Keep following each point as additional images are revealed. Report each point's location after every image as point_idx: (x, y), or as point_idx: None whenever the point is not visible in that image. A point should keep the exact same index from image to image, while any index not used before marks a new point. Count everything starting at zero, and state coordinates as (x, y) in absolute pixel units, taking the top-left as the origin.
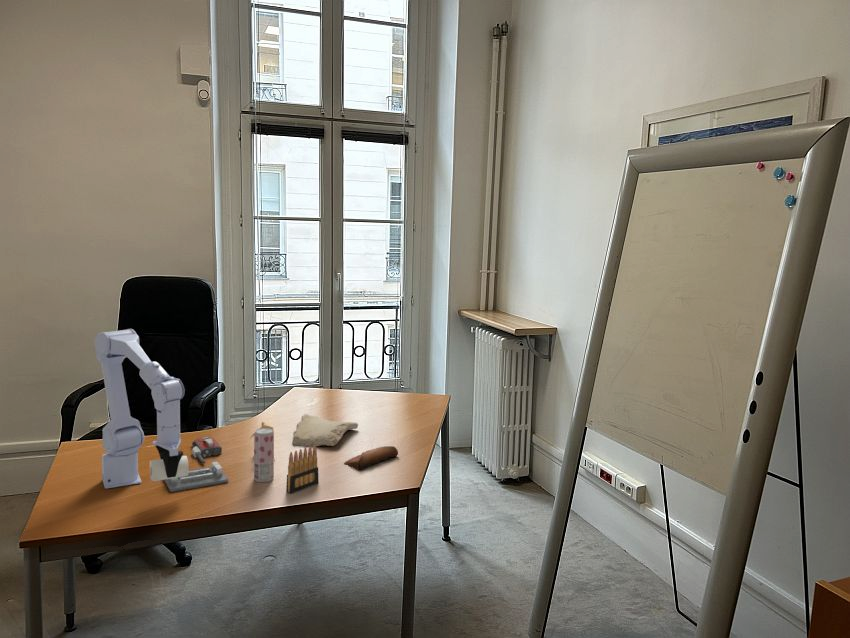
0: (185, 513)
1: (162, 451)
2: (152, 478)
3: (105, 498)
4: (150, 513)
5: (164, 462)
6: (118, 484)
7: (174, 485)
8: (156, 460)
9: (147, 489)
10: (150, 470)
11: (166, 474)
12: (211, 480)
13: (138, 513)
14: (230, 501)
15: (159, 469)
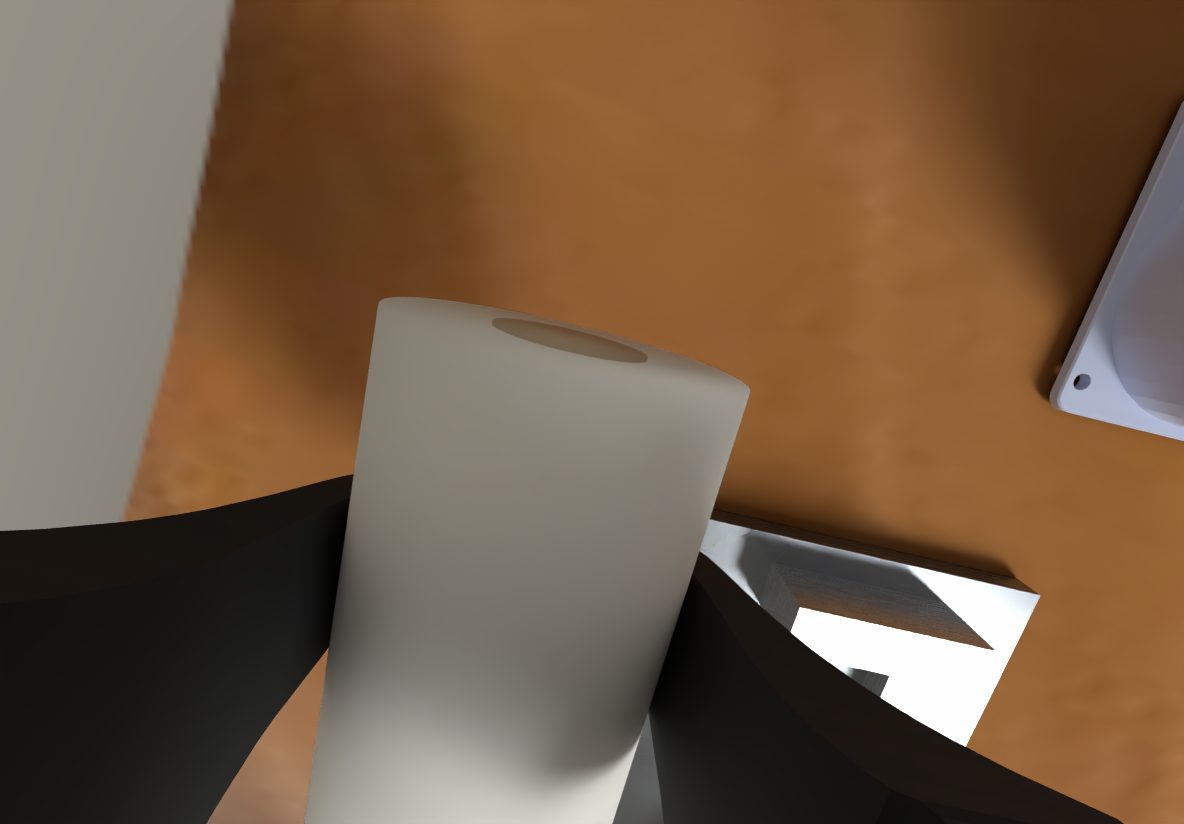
0: (240, 429)
1: (759, 788)
2: (476, 307)
3: (977, 10)
4: (394, 216)
5: (40, 533)
6: (1162, 216)
7: (741, 570)
8: (529, 488)
9: (882, 392)
10: (639, 353)
11: (347, 480)
12: (637, 798)
13: (454, 133)
14: (268, 734)
15: (362, 422)
